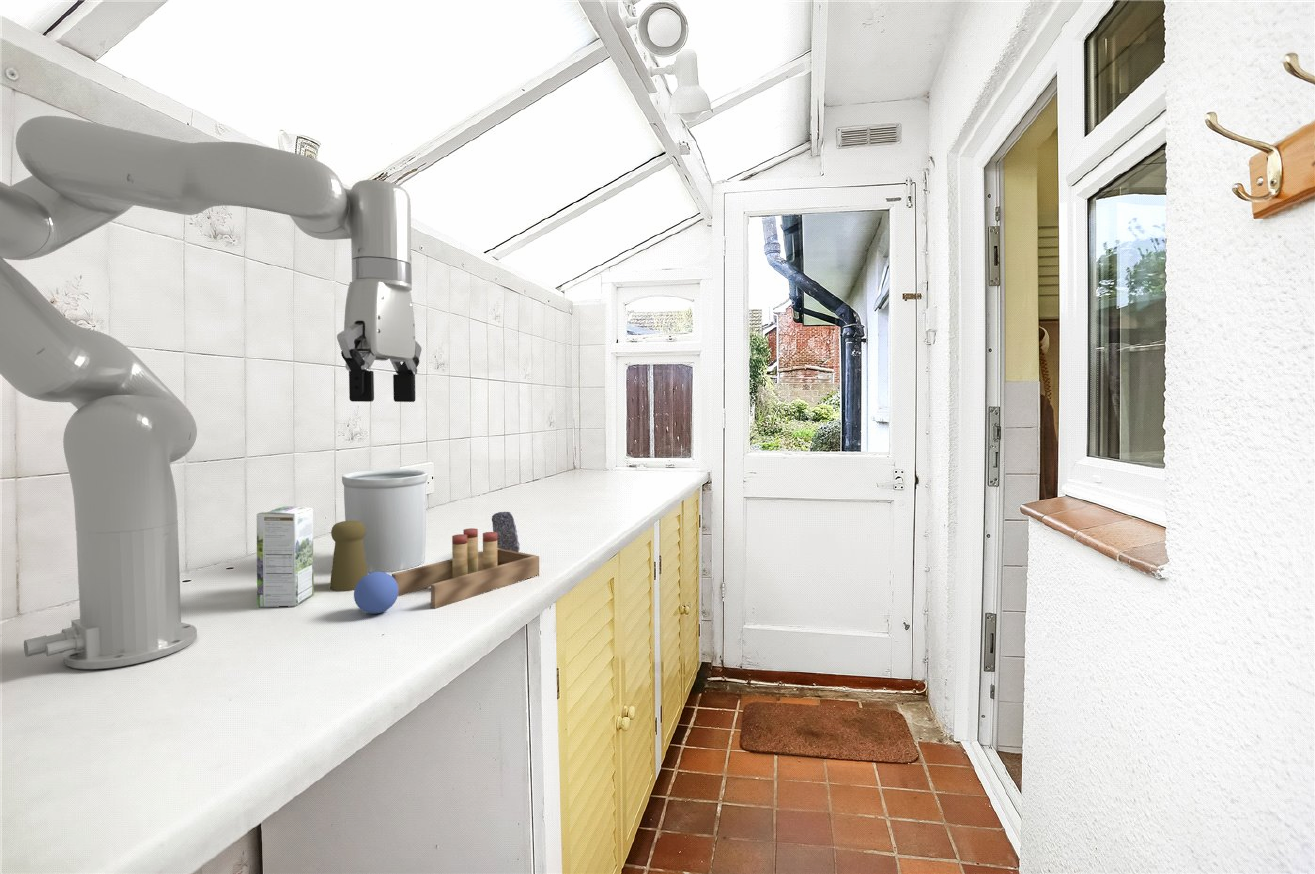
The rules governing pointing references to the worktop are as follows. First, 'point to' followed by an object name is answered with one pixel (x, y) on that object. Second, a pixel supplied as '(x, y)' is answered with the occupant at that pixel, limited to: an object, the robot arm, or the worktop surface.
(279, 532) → the syrup box
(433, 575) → the lane
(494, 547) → the pin
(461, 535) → the pin front
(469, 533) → the pin
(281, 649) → the worktop surface
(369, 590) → the ball
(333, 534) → the cork
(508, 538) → the rock
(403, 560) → the utensil holder
